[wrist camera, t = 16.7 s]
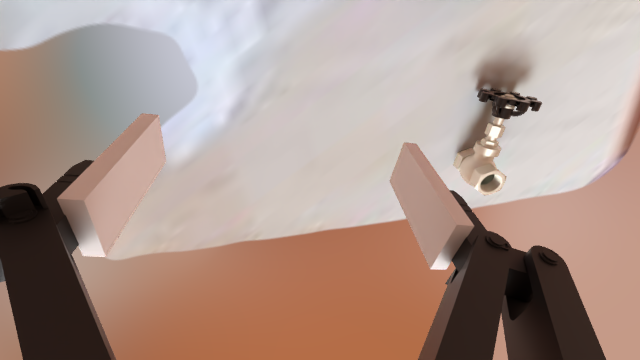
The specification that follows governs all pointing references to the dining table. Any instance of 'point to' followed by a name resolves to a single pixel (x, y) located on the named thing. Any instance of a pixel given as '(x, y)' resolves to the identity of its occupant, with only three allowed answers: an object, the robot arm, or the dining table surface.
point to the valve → (491, 141)
